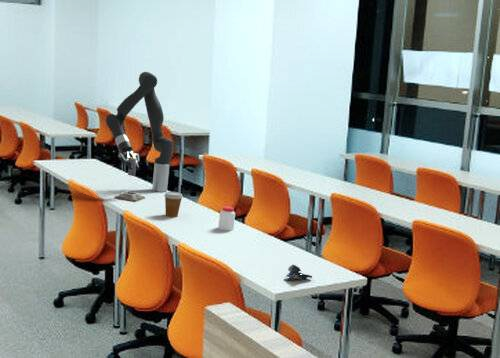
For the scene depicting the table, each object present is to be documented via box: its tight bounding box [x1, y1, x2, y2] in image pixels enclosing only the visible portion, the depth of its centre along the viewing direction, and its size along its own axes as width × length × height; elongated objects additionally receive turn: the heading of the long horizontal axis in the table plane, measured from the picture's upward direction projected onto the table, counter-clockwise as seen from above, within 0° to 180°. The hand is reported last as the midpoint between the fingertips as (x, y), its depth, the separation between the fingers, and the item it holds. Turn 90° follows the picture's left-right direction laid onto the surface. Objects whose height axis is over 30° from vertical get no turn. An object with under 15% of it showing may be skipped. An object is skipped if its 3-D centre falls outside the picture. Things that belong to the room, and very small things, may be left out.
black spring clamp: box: [283, 264, 313, 281], centre depth 258 cm, size 12×6×12 cm
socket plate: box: [114, 190, 146, 203], centre depth 372 cm, size 13×13×3 cm
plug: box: [127, 157, 137, 177], centre depth 369 cm, size 4×4×10 cm
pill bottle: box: [217, 205, 236, 231], centre depth 326 cm, size 8×8×11 cm
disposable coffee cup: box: [164, 191, 184, 218], centre depth 340 cm, size 10×10×12 cm
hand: (134, 168), depth 368 cm, fingers closed on plug, 4 cm apart
